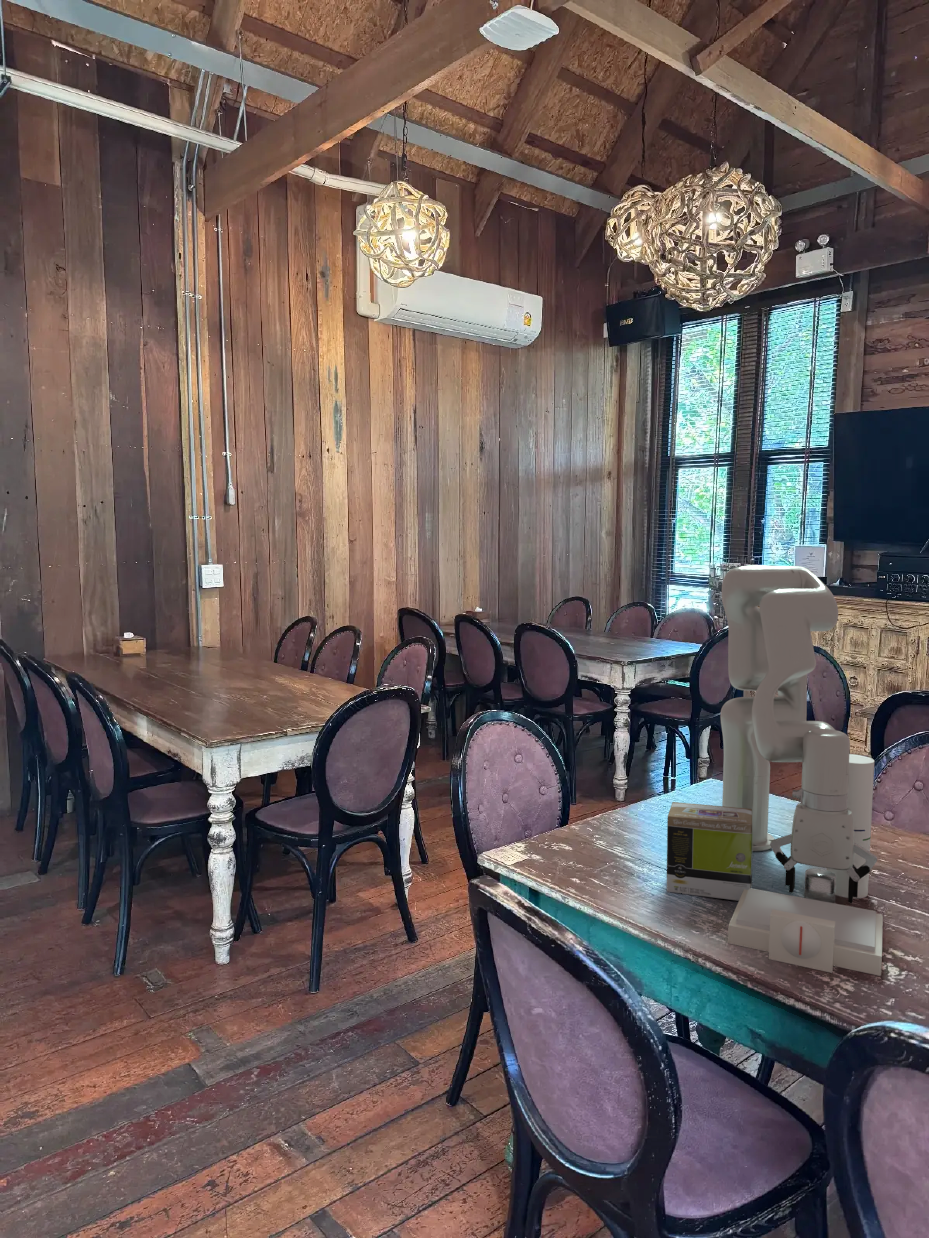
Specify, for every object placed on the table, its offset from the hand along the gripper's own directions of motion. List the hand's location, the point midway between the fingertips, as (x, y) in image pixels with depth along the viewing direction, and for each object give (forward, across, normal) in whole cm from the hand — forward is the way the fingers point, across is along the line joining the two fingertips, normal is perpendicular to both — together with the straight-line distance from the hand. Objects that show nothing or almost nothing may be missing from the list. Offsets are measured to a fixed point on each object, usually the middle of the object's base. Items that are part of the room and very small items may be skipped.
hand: (820, 895), depth 147 cm
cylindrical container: (+2, +4, +10) cm, 11 cm away
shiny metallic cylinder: (+2, 0, 0) cm, 2 cm away
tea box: (+2, -19, -1) cm, 19 cm away
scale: (+2, -1, -15) cm, 15 cm away
